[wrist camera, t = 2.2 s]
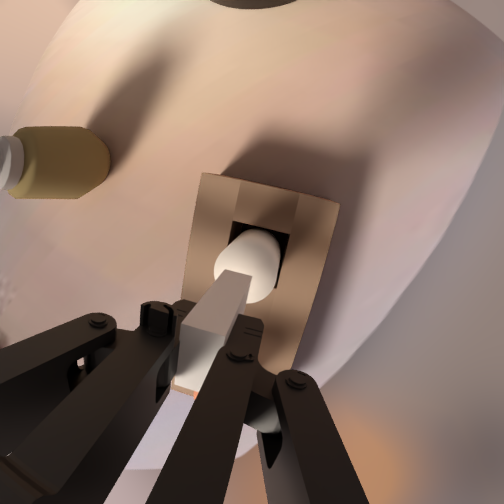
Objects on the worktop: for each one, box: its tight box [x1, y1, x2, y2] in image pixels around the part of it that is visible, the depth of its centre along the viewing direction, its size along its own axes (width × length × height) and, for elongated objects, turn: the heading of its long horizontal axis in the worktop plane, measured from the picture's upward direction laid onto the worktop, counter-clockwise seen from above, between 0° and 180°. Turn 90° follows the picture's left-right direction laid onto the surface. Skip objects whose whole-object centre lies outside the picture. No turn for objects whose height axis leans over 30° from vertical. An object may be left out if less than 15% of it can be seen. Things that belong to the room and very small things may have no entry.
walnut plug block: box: [171, 173, 340, 397], centre depth 27 cm, size 22×11×6 cm, turn 168°
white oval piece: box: [214, 228, 281, 304], centre depth 21 cm, size 4×4×6 cm
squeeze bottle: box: [0, 126, 110, 199], centre depth 21 cm, size 8×8×18 cm
